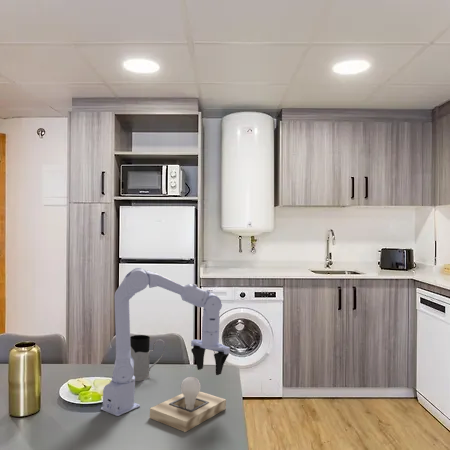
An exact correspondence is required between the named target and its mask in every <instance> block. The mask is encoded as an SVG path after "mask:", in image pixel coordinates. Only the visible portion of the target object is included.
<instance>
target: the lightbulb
mask: <svg viewBox="0 0 450 450" xmlns="http://www.w3.org/2000/svg"><path fill="white" fill-rule="evenodd" d="M201 386H202V385H201V383H200V380H199V379H198V378H197V377H195V376H187V377H186V378H184V379H183V380H182V382H181V386H180V391H181V394H182V393H183V395H184V397H185V404H186V407H185V408H186V409H189V410H192V409H194V404H195V400H196V397H197V395H198V393H199V391H200V392H201Z"/></svg>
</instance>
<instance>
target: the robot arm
mask: <svg viewBox="0 0 450 450" xmlns="http://www.w3.org/2000/svg"><path fill="white" fill-rule="evenodd" d="M147 287H149V288H150V289H151V288H152V289H153V288H157V287H159V288H162V289H164V290H167V291H170V292H173V293H175V294H178V295H179V296H180V297H181V300H182V301H184V302H186V303H188V304H191V305H193V306H195V307H198V308H202V318H201V319H202V321H201V325H202V326H201V339H191V340H190V341H191V342H190V343H191V344H190V346H191V347H193V348H190V351H191V353H192V355H193V357H194V360H195V363H196V369H197V371H201V370H202V369H203V368H204V359H205V353H206V350H209V351H214V352H216V353H213V357H214V362H215V376H220V375H221V374H222V371H223V367H224V365H225V362H226V361H227V359H228V357H229V355H230V353H231V348H230V346H226V345H224V344H222V343H220V318H221V317H220V311H221V309H222V306H223V304H222V300H221V298H220V297H218V295H216V294H215V293H213V292H211V291H210V290H208V289H207V290H205V289H203V288H201V287H198V285H197V284H195V283H192V284H191V283H187V284H185V285H183V284H181V283H178V282H176V281H175V280H172V279H170V278H168V277H166V276H164V275H162V274H160V273H156V272H155V271H151V270H146V269H144V268H142V267H135V268H133V269H132V270H131V271H129V272H128V273H126V275H125V276H124V278H123V279H122V281H121V282H120V284H119V286H118V287H117V289H116V291H115V293H114V325H115V329H114V331H115V360H114V366H113V370H112V376H111V381H110V382H109V383H107V384H106V385H105V386H104V387H103V390H102V406H101V408H100V410H102V411H104V412H106V413H108V414H111V415H113V416H116V417H119V416H122V415H124V414H126V413H128V412H130V411H133V410H135V409H137V408H140V407H141V404H139V403H136V402H135V396H136V395H135V392H136V391H135V389H136V388H135V387H136V381H135V376H134V369H133V368H134V360H133V358H132V356H131V347H130V337H131V323H130V322H131V320H130V316H131V315H130V300H131V299H132V297H134V296H135V295H136V294H137V293H140V292H141V291H144V290H145V289H146V288H147Z"/></svg>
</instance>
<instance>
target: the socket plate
mask: <svg viewBox="0 0 450 450" xmlns="http://www.w3.org/2000/svg"><path fill="white" fill-rule="evenodd" d="M226 406H227V399H225V398H223V397H220V396H215V395H213V394H210V393H207V392H203V391H201V390H200V391H199V393H198V395H197V397H196V400H195V404H194V409H192V410H189V409H186V404H185V397H184V395H183V393H182V392H181V393H180V394H178V395H176V396H173V397H172V398H169V399H167V400H165V401H163V402H161V403H158V404H156V405H154V406H152V407H150V408H149V419H150V420H153V421H156V422H158V423H161V424H164V425H166V426H168V427H172V428H174V429H175V430H176V429H177V430H179V431H182V432H184V433H186V432H188V431H190V430H192V429H194V428H195V427H197V426H198V425H200V424H202V423H204V422H205V421H207V420H209V419H211V418H212V417H214V416H216V415H218V414H219V413H221V412H223V411H225V410H226Z"/></svg>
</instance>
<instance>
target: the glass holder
mask: <svg viewBox="0 0 450 450" xmlns="http://www.w3.org/2000/svg"><path fill="white" fill-rule="evenodd" d="M150 339H151V336H149V335H145V334H135V335H132V336H131V335H130V347H131V356H132V358H133V360H134V368H133V369H134V376H135V382H136V381H138V382H140V381H145V380H148V379H150V377H151V374H150V372H151V369H152V368H153V367H154V366H155V365H156V364H157V363H158V362H159V361H161V360H162V357H163V356H164V354H165V350H166V343H165V341H164V340H162V339H157V340H155V341H154V342H153V349H152V350H151V349H150V347H151V346H150V342H151V341H150ZM159 341H160V342H162V343H163V351H162V353H161V356H160V357H159V358H158V359H157V360H156V361H155V362H154V363H153V364H152V365H151V366H150V358H151V357H150V355H151V354H150V353H151V352H153V351H154V350H155V346H156V344H157V343H158V342H159Z"/></svg>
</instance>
